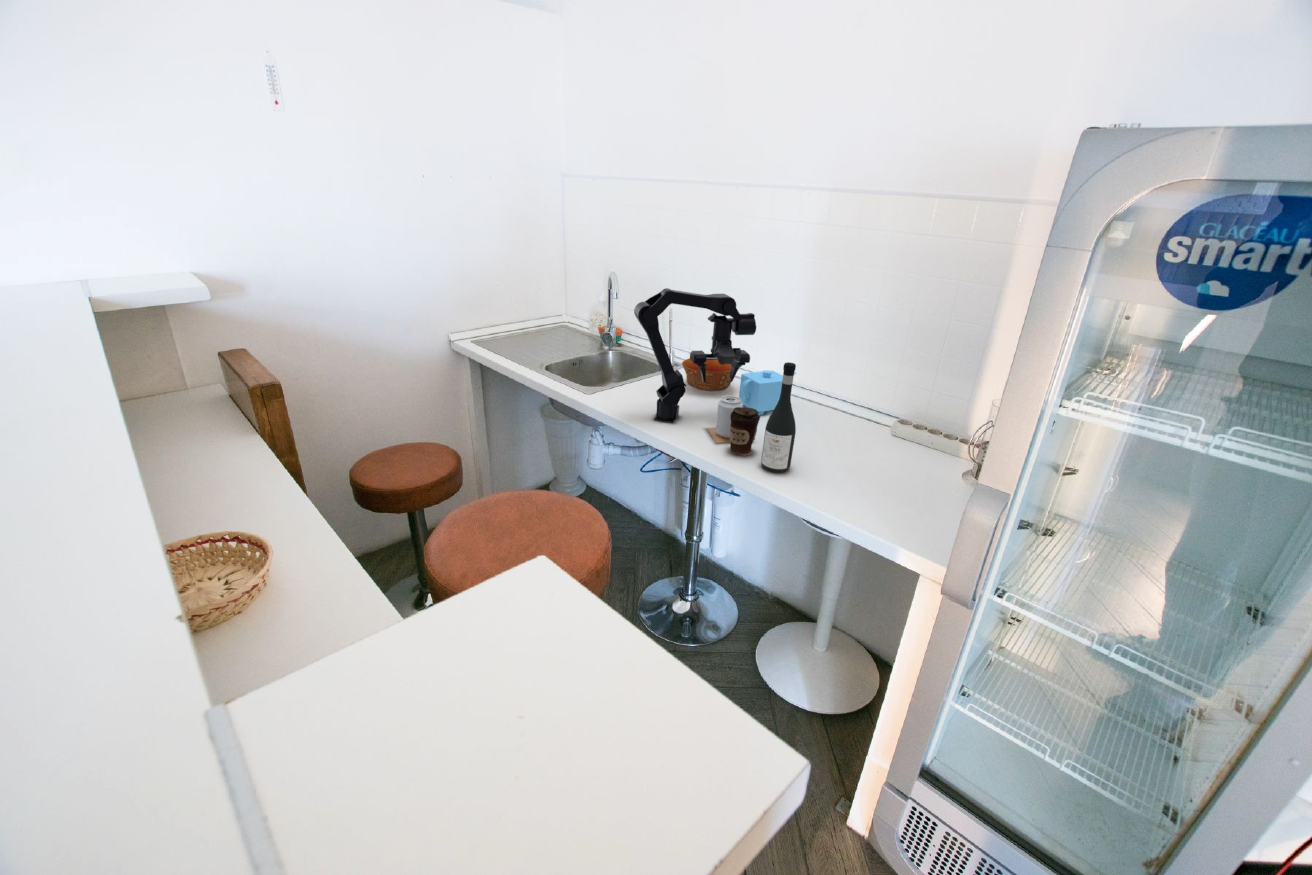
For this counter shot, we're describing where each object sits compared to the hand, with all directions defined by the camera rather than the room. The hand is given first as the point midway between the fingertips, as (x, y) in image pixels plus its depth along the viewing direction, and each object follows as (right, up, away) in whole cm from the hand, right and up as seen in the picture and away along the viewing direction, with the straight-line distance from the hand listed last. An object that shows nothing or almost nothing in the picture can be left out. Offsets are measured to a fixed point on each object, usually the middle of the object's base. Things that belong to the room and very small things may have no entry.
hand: (717, 382), depth 189 cm
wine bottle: (+13, -27, -28) cm, 41 cm away
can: (+2, -17, -9) cm, 20 cm away
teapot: (+19, -8, +14) cm, 24 cm away
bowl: (0, 0, +30) cm, 30 cm away
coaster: (+2, -17, -9) cm, 20 cm away
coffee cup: (+5, -22, -20) cm, 30 cm away
